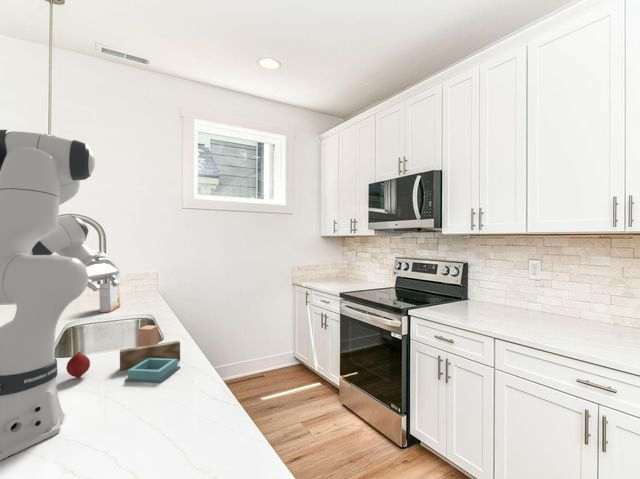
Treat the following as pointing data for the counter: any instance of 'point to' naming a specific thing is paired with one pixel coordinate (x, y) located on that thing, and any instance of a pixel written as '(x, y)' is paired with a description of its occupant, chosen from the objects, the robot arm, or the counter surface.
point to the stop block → (148, 335)
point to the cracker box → (109, 296)
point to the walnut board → (148, 353)
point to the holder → (152, 370)
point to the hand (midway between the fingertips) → (107, 287)
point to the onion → (78, 365)
